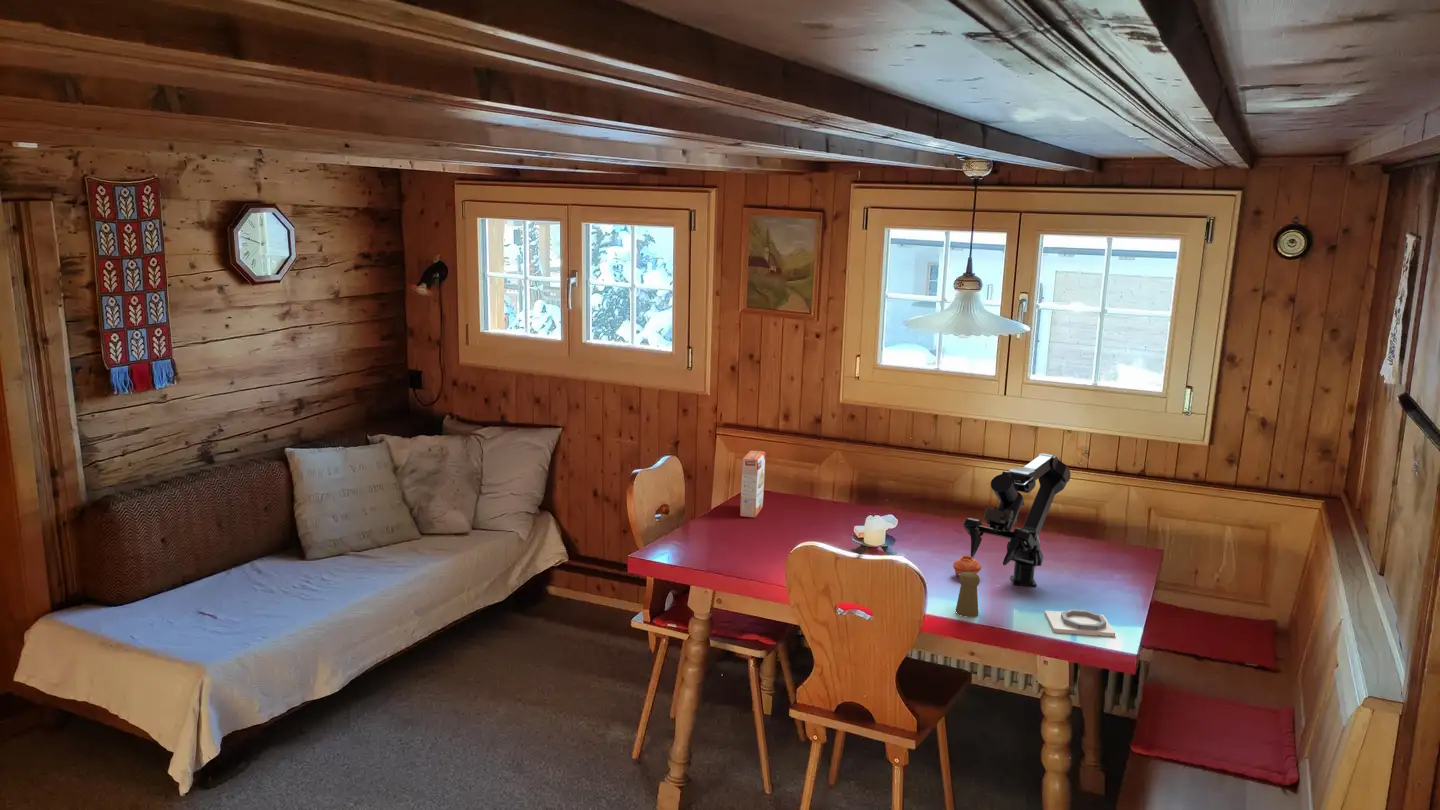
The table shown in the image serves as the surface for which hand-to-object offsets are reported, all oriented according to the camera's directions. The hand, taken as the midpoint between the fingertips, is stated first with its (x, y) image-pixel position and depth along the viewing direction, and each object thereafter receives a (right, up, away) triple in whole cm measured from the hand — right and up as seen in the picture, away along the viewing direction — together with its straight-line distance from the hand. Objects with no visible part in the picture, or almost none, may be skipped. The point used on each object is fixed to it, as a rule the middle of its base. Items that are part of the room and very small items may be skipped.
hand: (987, 560), depth 265 cm
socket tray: (+21, -15, -9) cm, 28 cm away
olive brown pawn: (-6, -14, -3) cm, 15 cm away
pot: (0, -9, +24) cm, 26 cm away
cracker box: (-60, +4, +83) cm, 103 cm away
